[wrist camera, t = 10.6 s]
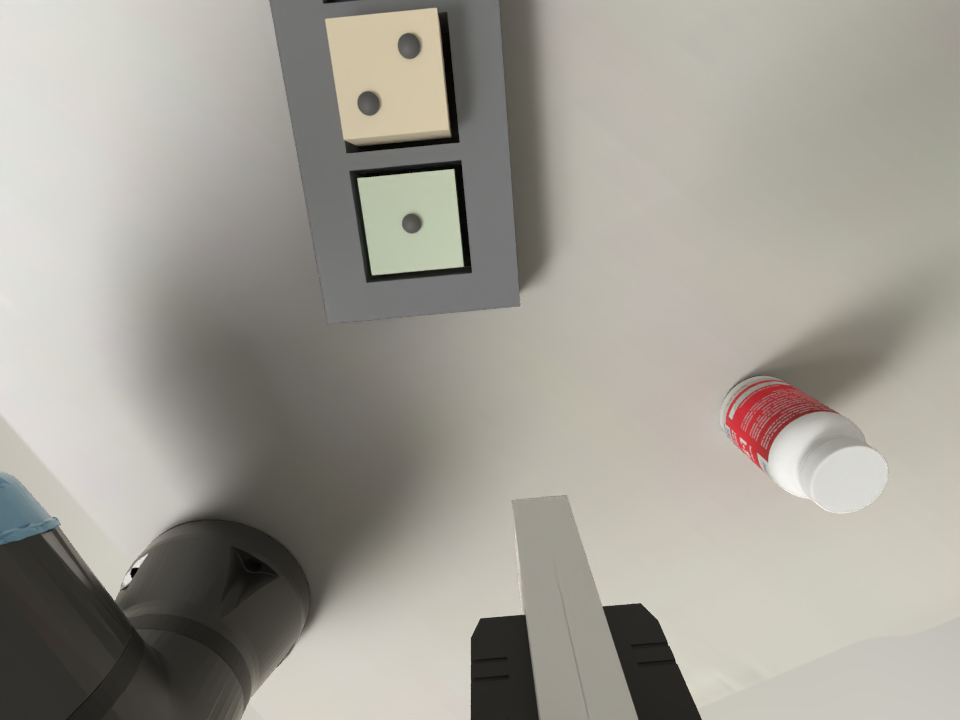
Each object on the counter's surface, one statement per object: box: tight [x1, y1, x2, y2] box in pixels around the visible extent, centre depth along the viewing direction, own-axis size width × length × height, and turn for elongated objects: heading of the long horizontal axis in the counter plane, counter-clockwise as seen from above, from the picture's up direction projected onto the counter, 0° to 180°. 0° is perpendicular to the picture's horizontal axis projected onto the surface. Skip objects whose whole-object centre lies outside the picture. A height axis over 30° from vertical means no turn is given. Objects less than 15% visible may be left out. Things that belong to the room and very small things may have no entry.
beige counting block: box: [325, 8, 452, 146], centre depth 31 cm, size 6×6×4 cm
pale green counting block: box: [357, 169, 464, 275], centre depth 35 cm, size 6×6×4 cm
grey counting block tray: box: [270, 0, 520, 324], centre depth 33 cm, size 13×28×4 cm, turn 5°
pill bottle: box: [720, 376, 888, 514], centre depth 37 cm, size 6×6×11 cm
